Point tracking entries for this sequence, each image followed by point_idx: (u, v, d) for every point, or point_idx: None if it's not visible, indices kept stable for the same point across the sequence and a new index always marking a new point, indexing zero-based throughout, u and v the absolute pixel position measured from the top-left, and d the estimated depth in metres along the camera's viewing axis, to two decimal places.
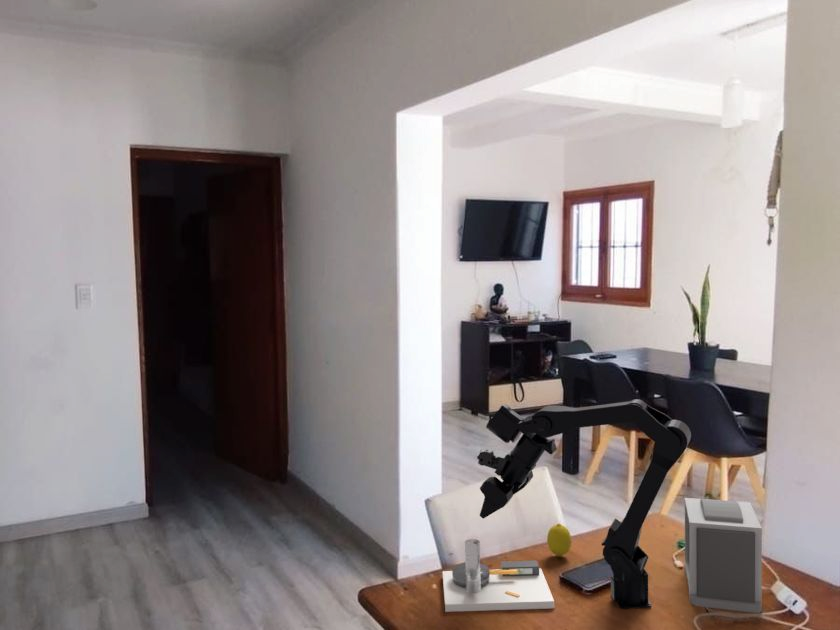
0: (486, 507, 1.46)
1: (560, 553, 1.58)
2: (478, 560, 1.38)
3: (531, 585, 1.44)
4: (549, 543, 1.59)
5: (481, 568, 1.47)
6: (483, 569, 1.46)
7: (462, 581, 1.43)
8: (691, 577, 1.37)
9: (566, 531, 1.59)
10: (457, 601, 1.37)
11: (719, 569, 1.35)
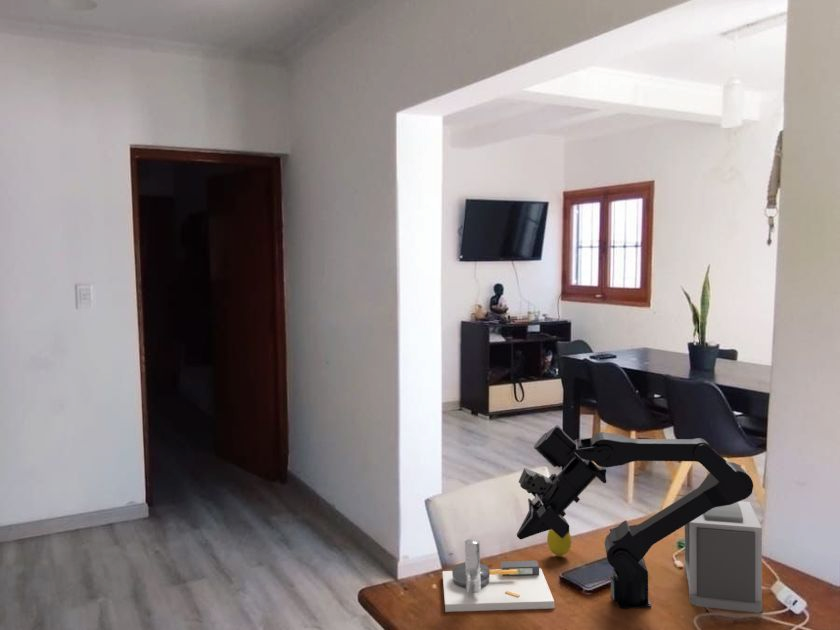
0: (529, 528, 1.38)
1: (560, 553, 1.58)
2: (478, 560, 1.38)
3: (531, 585, 1.44)
4: (549, 543, 1.59)
5: (481, 568, 1.47)
6: (483, 569, 1.46)
7: (462, 581, 1.43)
8: (691, 577, 1.37)
9: None
10: (457, 601, 1.37)
11: (719, 569, 1.35)
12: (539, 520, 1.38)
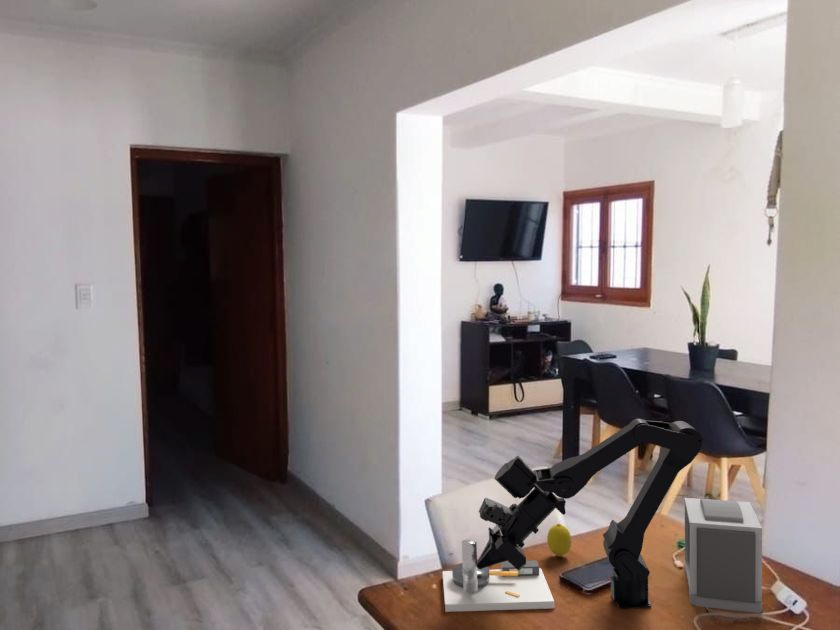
0: (488, 558, 1.38)
1: (560, 553, 1.58)
2: (474, 560, 1.38)
3: (531, 585, 1.44)
4: (549, 543, 1.59)
5: None
6: (483, 570, 1.46)
7: (461, 580, 1.43)
8: (691, 577, 1.37)
9: (566, 531, 1.59)
10: (457, 601, 1.37)
11: (720, 569, 1.35)
12: None
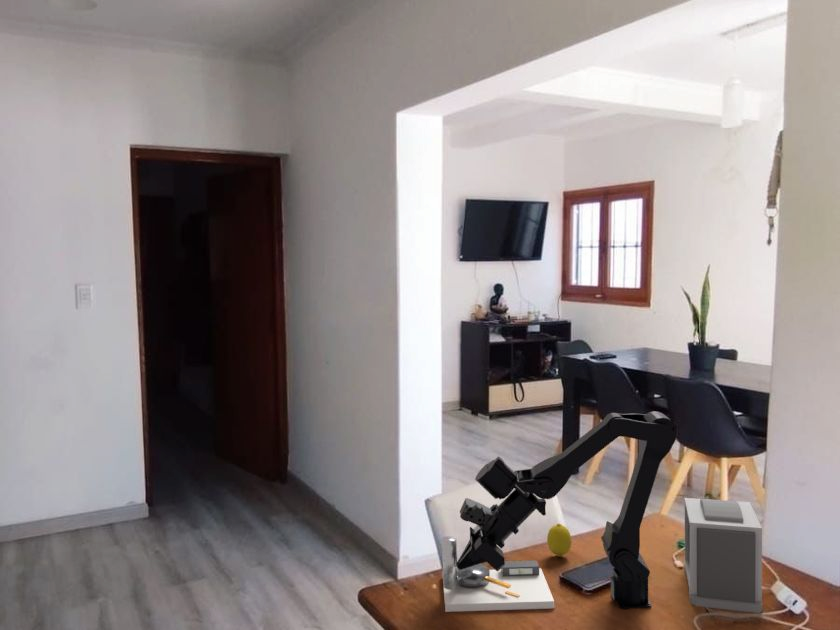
0: (469, 559, 1.38)
1: (560, 553, 1.58)
2: (450, 558, 1.39)
3: (531, 585, 1.44)
4: (549, 543, 1.59)
5: (481, 571, 1.45)
6: (481, 573, 1.45)
7: None
8: (691, 577, 1.37)
9: (566, 531, 1.59)
10: (457, 601, 1.37)
11: (720, 569, 1.35)
12: None
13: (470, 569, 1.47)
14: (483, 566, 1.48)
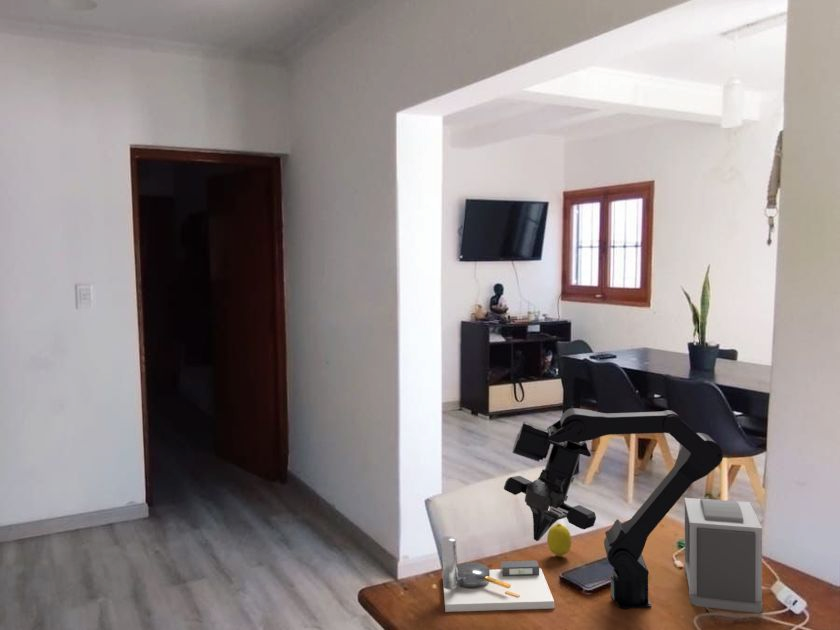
0: (546, 528, 1.39)
1: (560, 553, 1.58)
2: (450, 558, 1.39)
3: (531, 585, 1.44)
4: (549, 543, 1.59)
5: (481, 571, 1.45)
6: (481, 573, 1.45)
7: None
8: (691, 577, 1.37)
9: (566, 531, 1.59)
10: (457, 601, 1.37)
11: (720, 569, 1.35)
12: None
13: (470, 569, 1.47)
14: (483, 566, 1.48)
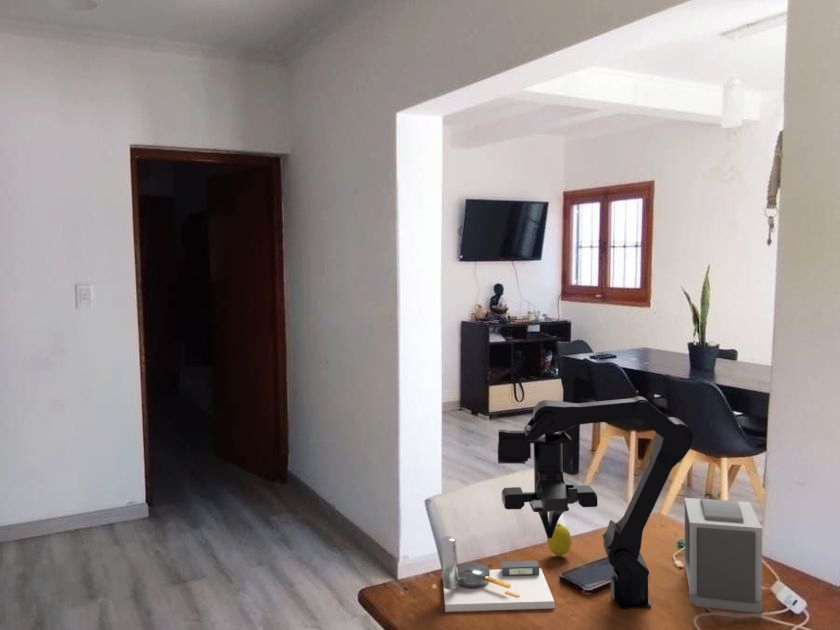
0: None
1: (560, 553, 1.58)
2: (450, 558, 1.39)
3: (531, 585, 1.44)
4: (549, 543, 1.59)
5: (481, 571, 1.45)
6: (481, 573, 1.45)
7: None
8: (691, 577, 1.37)
9: (566, 531, 1.59)
10: (457, 601, 1.37)
11: (720, 569, 1.35)
12: None
13: (470, 569, 1.47)
14: (483, 566, 1.48)
